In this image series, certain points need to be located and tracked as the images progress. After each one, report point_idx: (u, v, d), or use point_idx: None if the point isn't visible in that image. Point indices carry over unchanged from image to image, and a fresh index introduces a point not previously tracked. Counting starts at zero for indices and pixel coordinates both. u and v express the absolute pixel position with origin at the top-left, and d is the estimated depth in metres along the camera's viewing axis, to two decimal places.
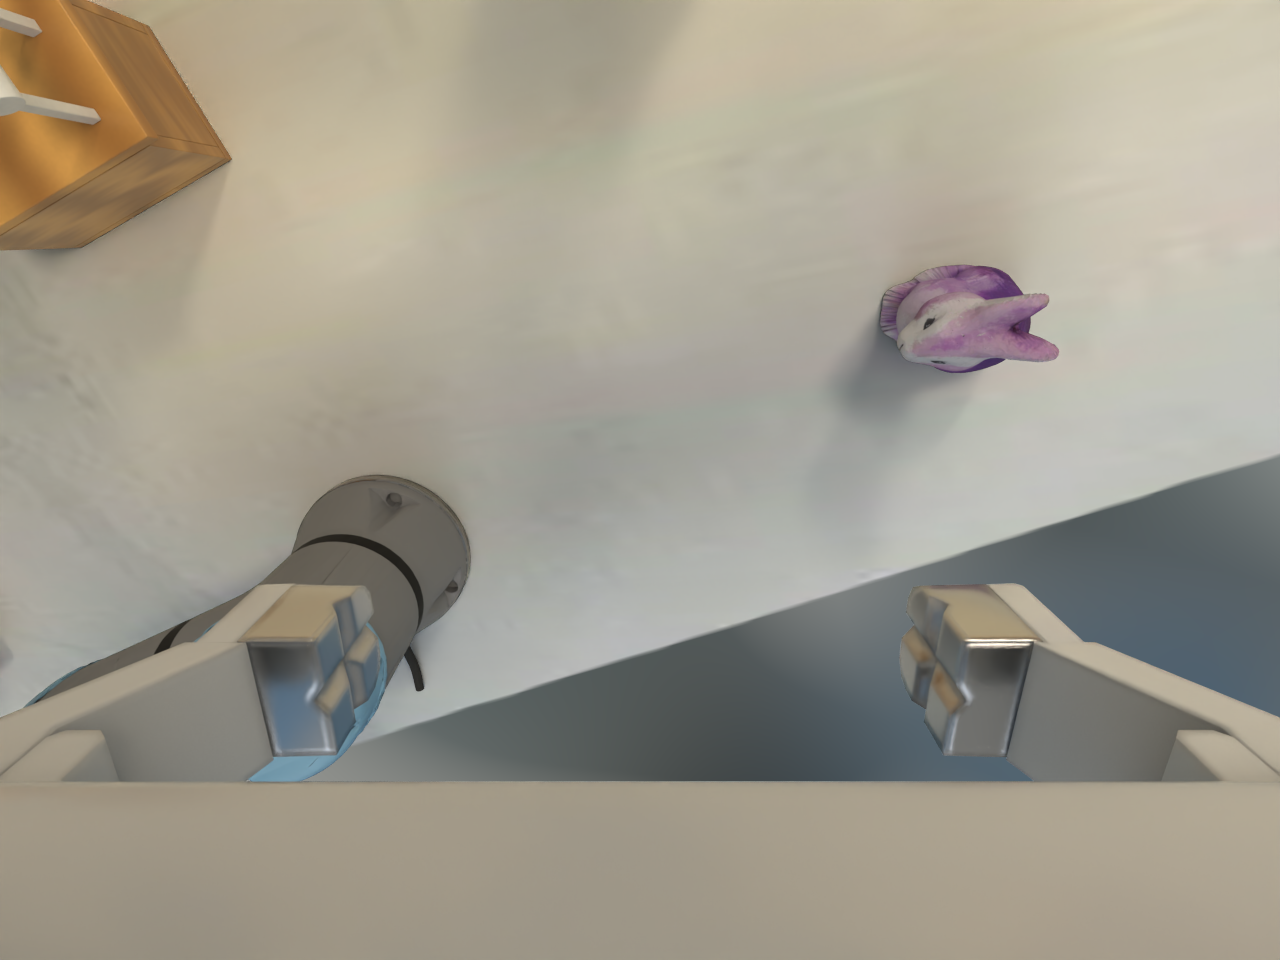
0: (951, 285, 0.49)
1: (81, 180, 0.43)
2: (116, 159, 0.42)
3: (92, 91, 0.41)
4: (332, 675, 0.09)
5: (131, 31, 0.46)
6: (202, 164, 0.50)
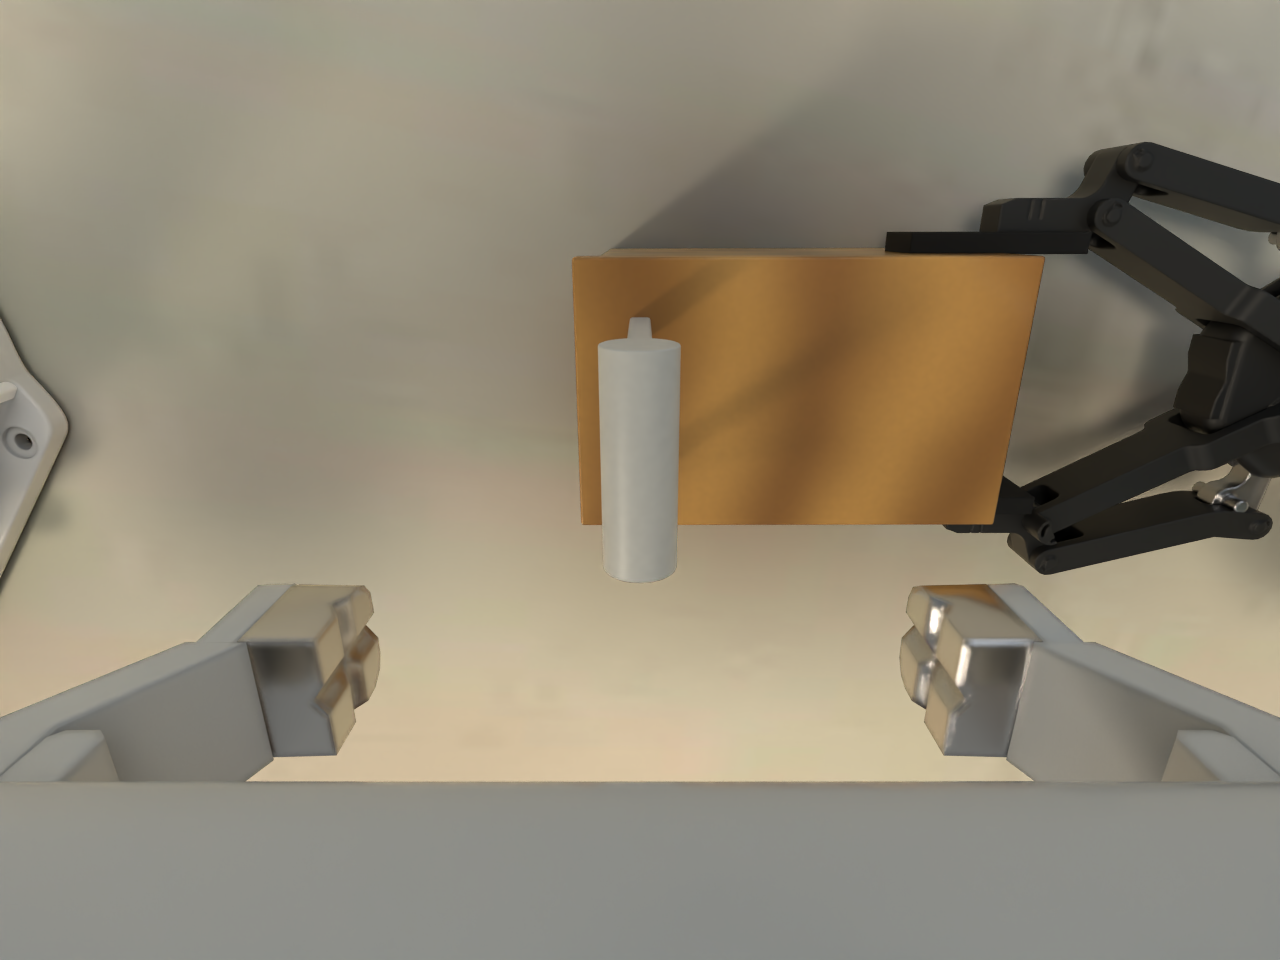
0: None
1: (741, 256, 0.23)
2: (657, 256, 0.23)
3: None
4: (332, 675, 0.09)
5: None
6: None
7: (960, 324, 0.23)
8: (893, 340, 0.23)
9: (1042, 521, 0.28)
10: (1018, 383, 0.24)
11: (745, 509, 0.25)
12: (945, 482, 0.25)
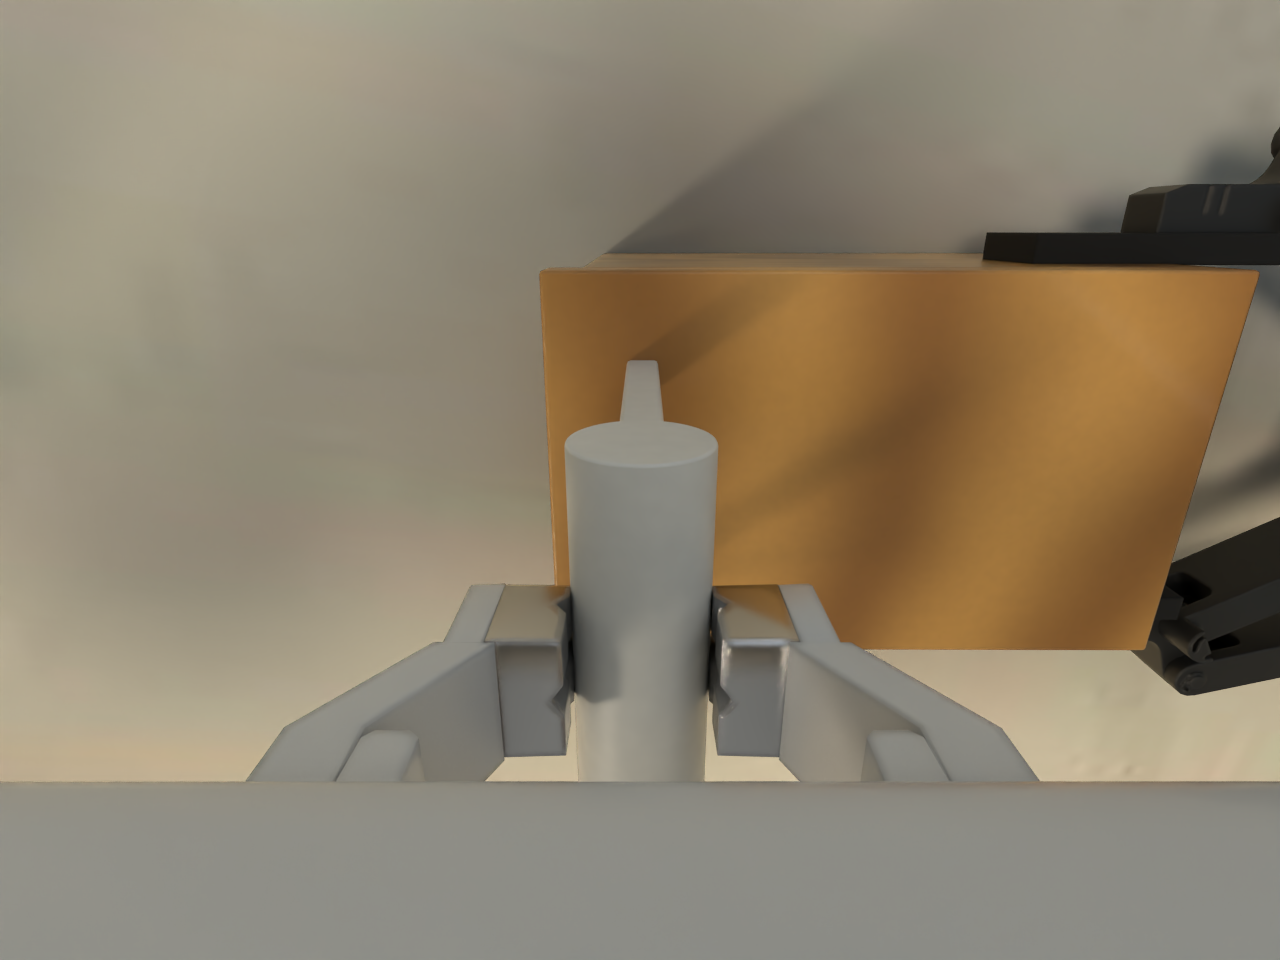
0: None
1: (795, 269, 0.15)
2: (668, 269, 0.15)
3: (605, 421, 0.16)
4: None
5: None
6: (636, 255, 0.22)
7: (1122, 372, 0.15)
8: (1020, 394, 0.16)
9: (1194, 631, 0.20)
10: (1200, 457, 0.16)
11: None
12: (1082, 594, 0.17)
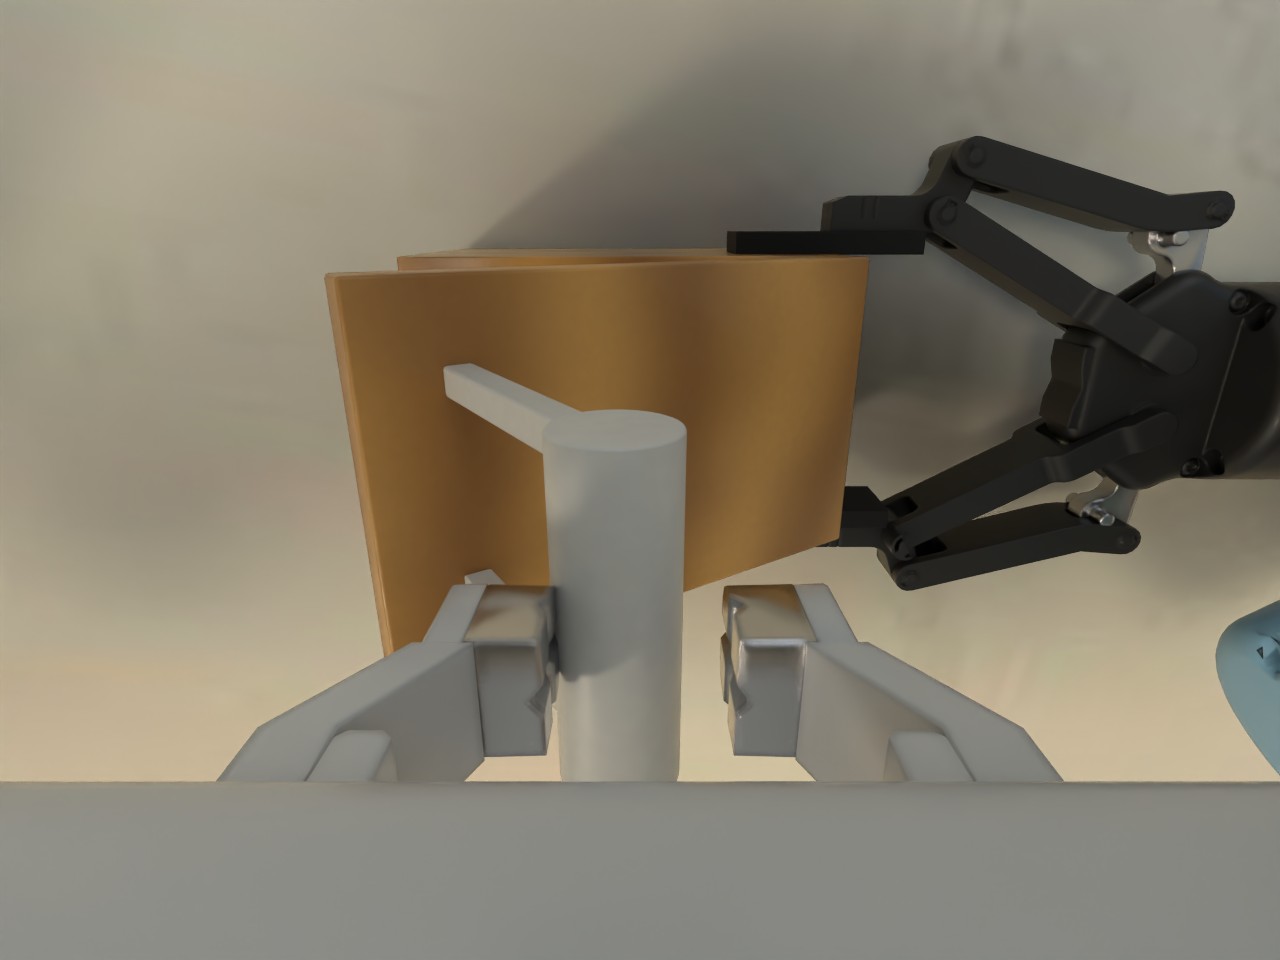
0: None
1: (581, 265, 0.16)
2: (469, 270, 0.15)
3: (425, 433, 0.15)
4: None
5: None
6: (480, 250, 0.29)
7: (808, 335, 0.20)
8: (753, 360, 0.20)
9: (895, 535, 0.27)
10: (853, 391, 0.22)
11: None
12: (802, 507, 0.23)
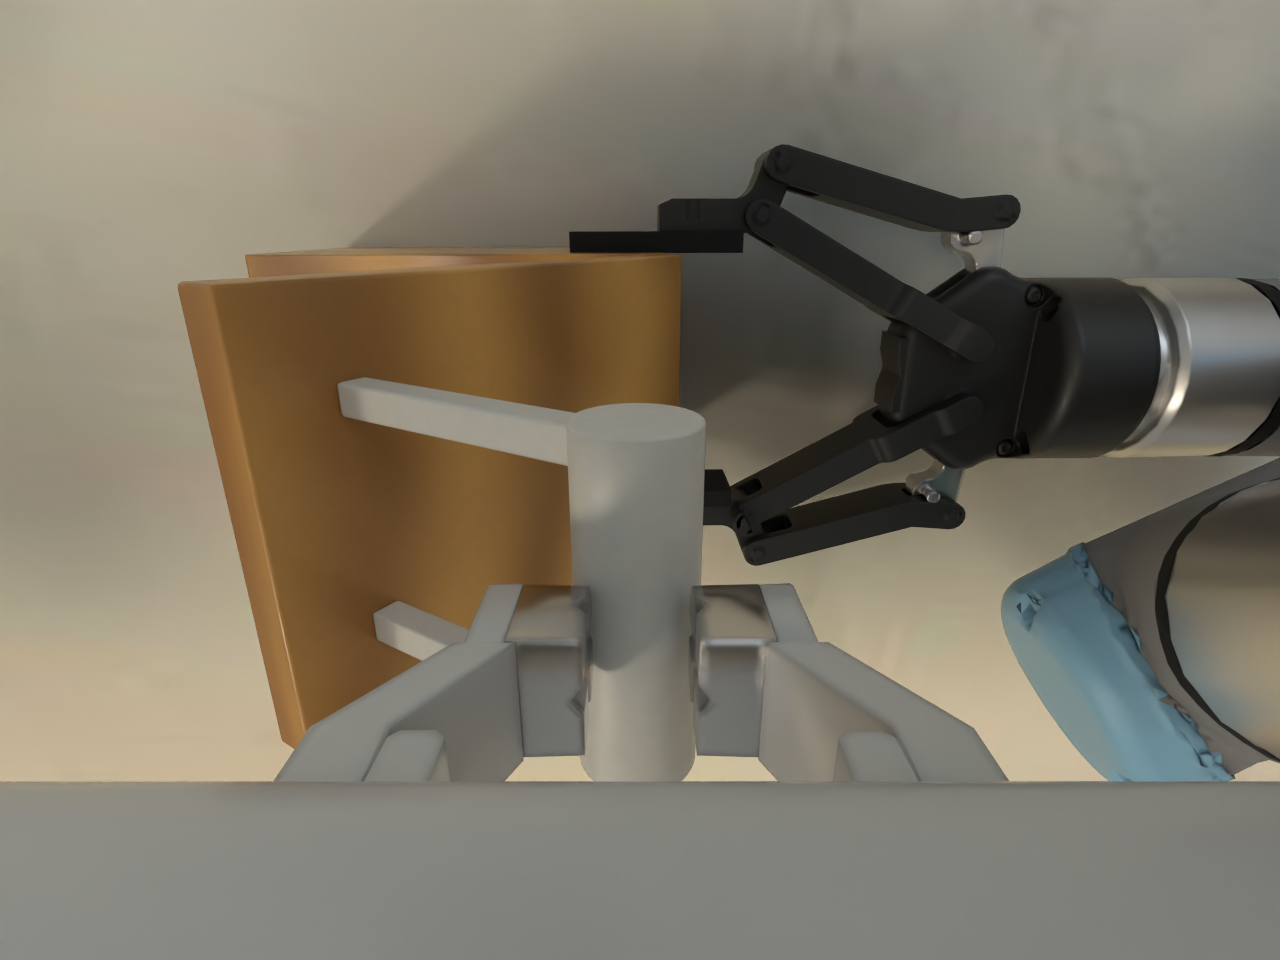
0: None
1: (455, 267, 0.16)
2: (348, 274, 0.13)
3: (323, 461, 0.13)
4: None
5: None
6: None
7: (644, 328, 0.22)
8: (605, 354, 0.20)
9: (737, 513, 0.29)
10: (678, 377, 0.25)
11: None
12: None
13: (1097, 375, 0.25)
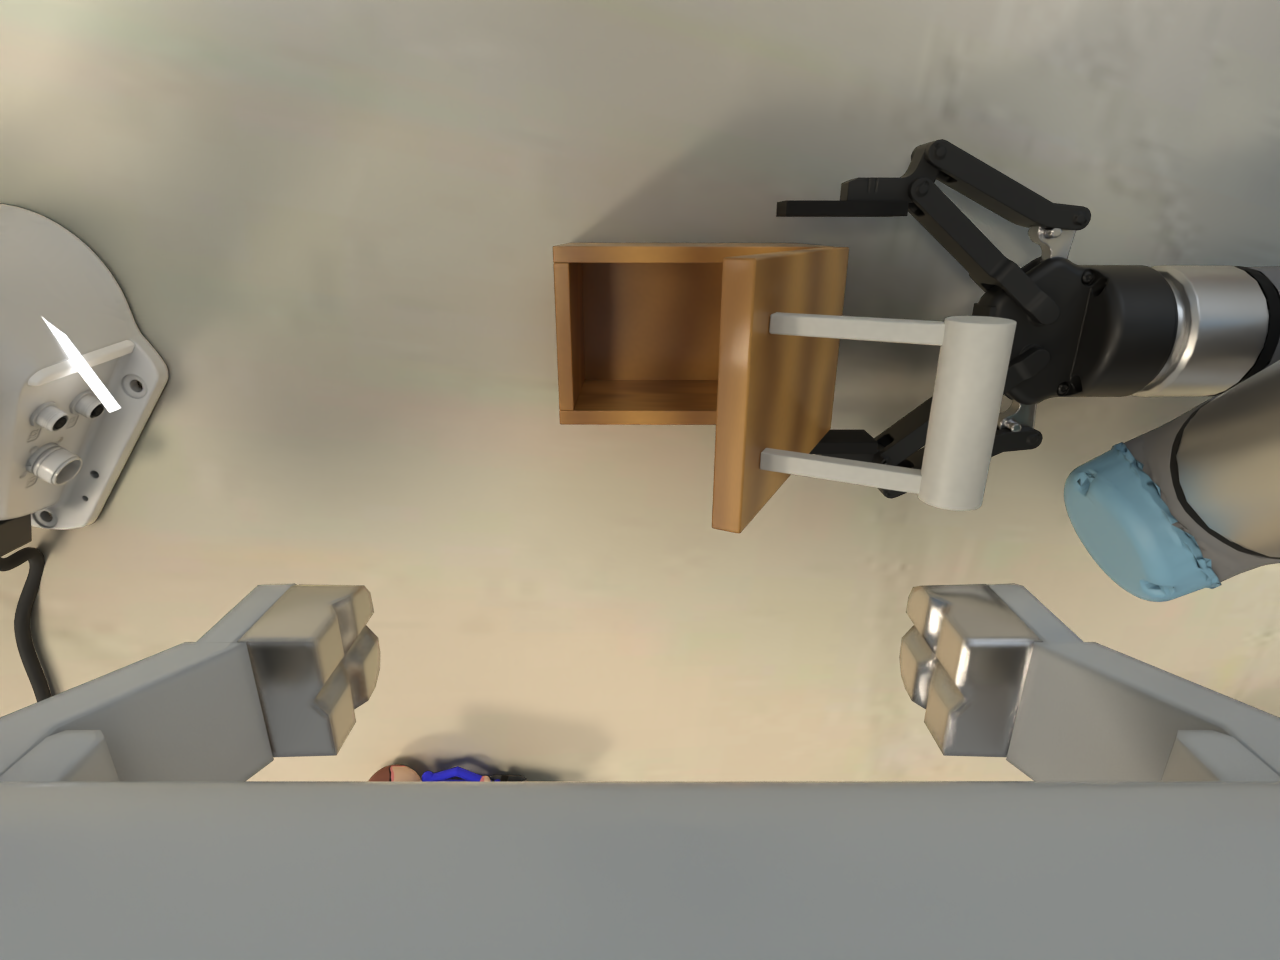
0: None
1: (789, 252, 0.26)
2: None
3: (762, 357, 0.24)
4: (332, 675, 0.09)
5: None
6: (586, 243, 0.42)
7: (834, 295, 0.33)
8: (824, 311, 0.32)
9: (881, 460, 0.41)
10: None
11: None
12: (825, 407, 0.36)
13: (1132, 332, 0.36)
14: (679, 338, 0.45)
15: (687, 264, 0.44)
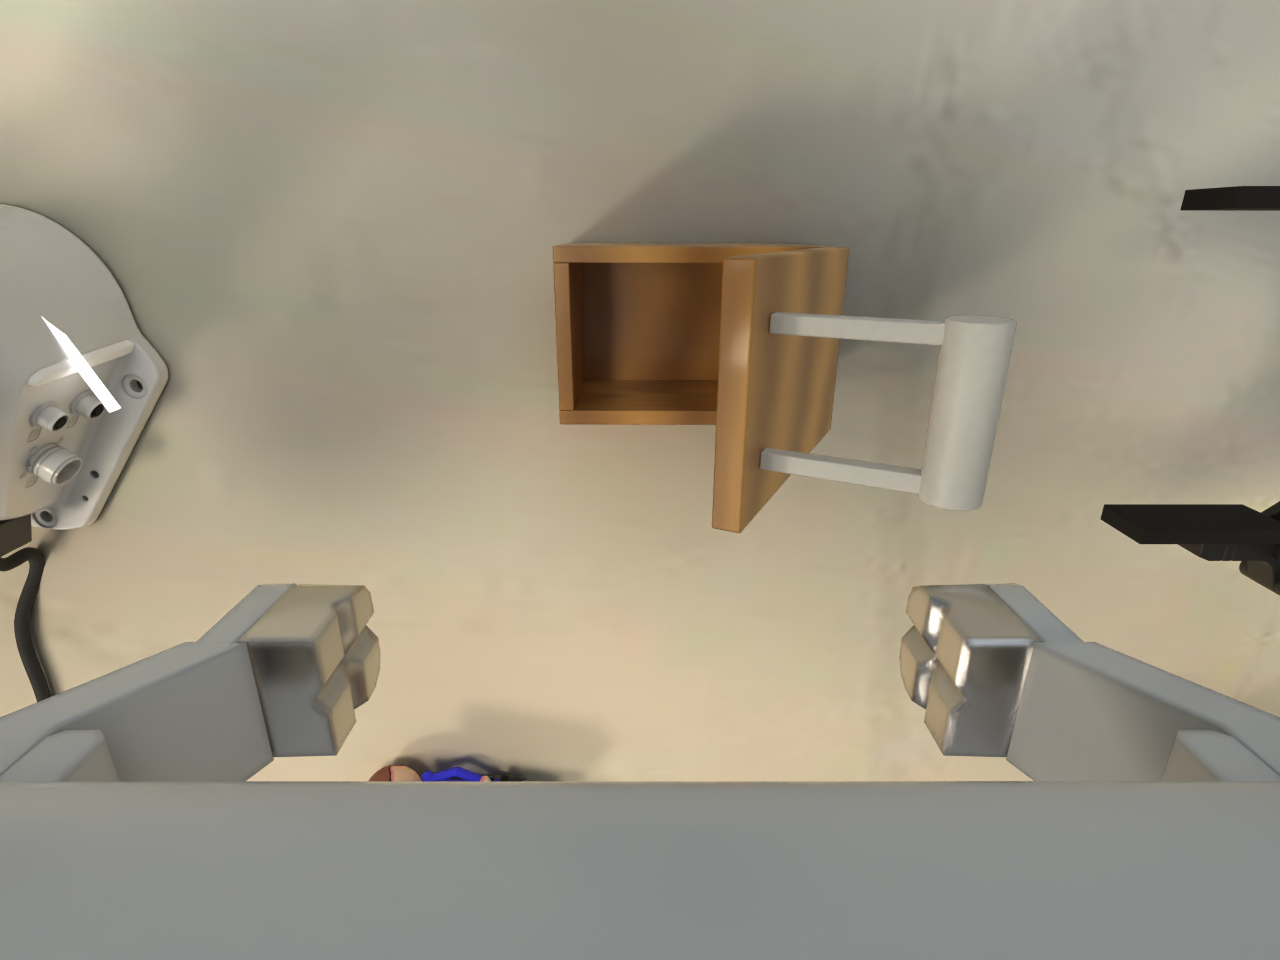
0: None
1: (789, 252, 0.26)
2: (770, 254, 0.24)
3: (762, 357, 0.24)
4: (332, 675, 0.09)
5: None
6: (586, 243, 0.42)
7: (835, 295, 0.33)
8: (824, 311, 0.32)
9: None
10: None
11: None
12: (825, 407, 0.36)
13: None
14: (679, 338, 0.45)
15: (687, 264, 0.44)
